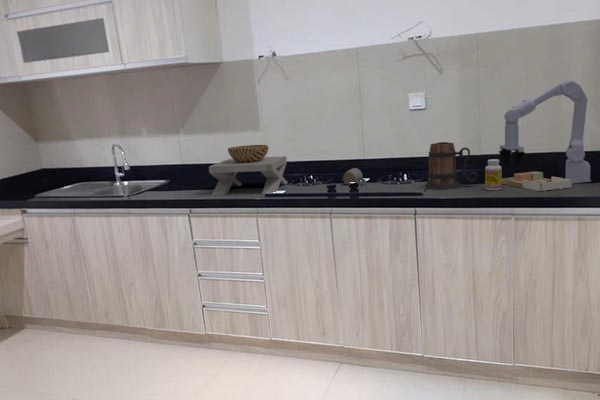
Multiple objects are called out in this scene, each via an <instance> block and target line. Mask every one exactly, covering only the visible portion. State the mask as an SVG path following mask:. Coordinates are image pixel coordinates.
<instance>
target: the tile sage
mask: <svg viewBox="0 0 600 400" xmlns="http://www.w3.org/2000/svg"><path fill="white" fill-rule="evenodd" d="M525 173H529V174H531V180H542V179H543V178H544V172H542V171H527V172H525Z"/></svg>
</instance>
